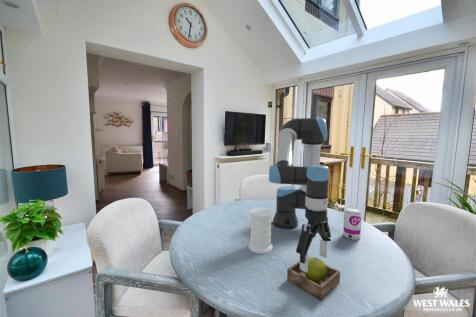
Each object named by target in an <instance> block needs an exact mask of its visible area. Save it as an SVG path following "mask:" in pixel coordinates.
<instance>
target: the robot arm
mask: <svg viewBox="0 0 476 317" xmlns="http://www.w3.org/2000/svg"><path fill="white" fill-rule="evenodd" d="M327 126H328V125H327V121H326V119H325V118H322V117H306V118H305V117H303V118H299V117H298V118H292V119H290V120H288V121H286V122H285V123H284V124H282V126H281V127H280V129H279V131H278V139H279V142H278V148H277V154H276V160H275V165H274V164H273V165H270V166H269V168H268V169H269V170H268V180H269V182H270V183H272V184H278V185H284V186H280V187H279V188H277V189H276V196H275V197H276V207H275V209H276V211H275V214H274V217H273V220H272V222H273V225H274V226H275V227H278V228H281V229H287V230H288V229H295V228H297V227H298V226H299V220H298V216H297V213H296V209H298V210H304V216H305V219H307V224H305V223H303V224H302V225H301V232H300V235H299V239H298V243H297V246H296V250H295V253H297V254H298V255H299V261H300V269H301V270H302V271H304V272H306V273H307V272H308V256H309V254H308V252H309V249H310V247H311V244H312V242H313V240H314V238H316V235H317V234H318V235H319V236H320V239H319V253H318V254H319V256H320V257H322V258H325V259H327V258H328V243H329V242H331V240H332V238H331V237H332V233H331V229H330V225H329V218H328V204H329V201H328V200H329V194H328V193H329V180H330V169H329V167H328V166H327V165H323V164H321V163H320V162H321V147H322V146H323V145H324V144H325V141H328V128H327ZM296 140H297V141H299V140H301V144H302V145H303V166H298V165H297V166H296V165H295V166H294V157H295V156H294V155H295V154H294V153H295V144H296V143H295V142H296ZM294 185H296V186H294ZM298 185H299V189H297V186H298Z"/></svg>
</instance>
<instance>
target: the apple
mask: <svg viewBox="0 0 476 317" xmlns="http://www.w3.org/2000/svg"><path fill="white" fill-rule="evenodd" d="M325 264H326V263H325V262H324V261H323V260H322V259H320V258H318V257H314V256H309V257H308V272H307V273H306V272H305V276H306V277H307V278H308V279H309V280H311V281H320V280H322V279H324V278H325V276H326V274H327V267H326V265H327V264H326V265H325Z"/></svg>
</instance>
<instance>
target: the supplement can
mask: <svg viewBox="0 0 476 317" xmlns="http://www.w3.org/2000/svg"><path fill="white" fill-rule="evenodd" d="M362 216H363V215H362V212H361V210H360V209H358V208H355V207H346V208H345V210H344V212H343V228H342V230H343V231H342V234H343V236H344V237H345V238H346V239H348V240H353V241H357V240H359V239H361V228H362Z"/></svg>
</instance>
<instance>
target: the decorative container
mask: <svg viewBox="0 0 476 317" xmlns="http://www.w3.org/2000/svg"><path fill="white" fill-rule="evenodd" d="M249 216H250V226H249V227H250V231H249V233H250V238H249V239H250V242H249V243H248V250H249V251H250V252H252V253H254V254H257V255H265V254H270V253H271V252H272V251H273V243H271V242H272V238H271V237H272V231H271V230H272V217H273V211H272V210H270V209H268V208H263V207H262V208H261V207H260V208H253V209H250V210H249Z"/></svg>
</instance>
